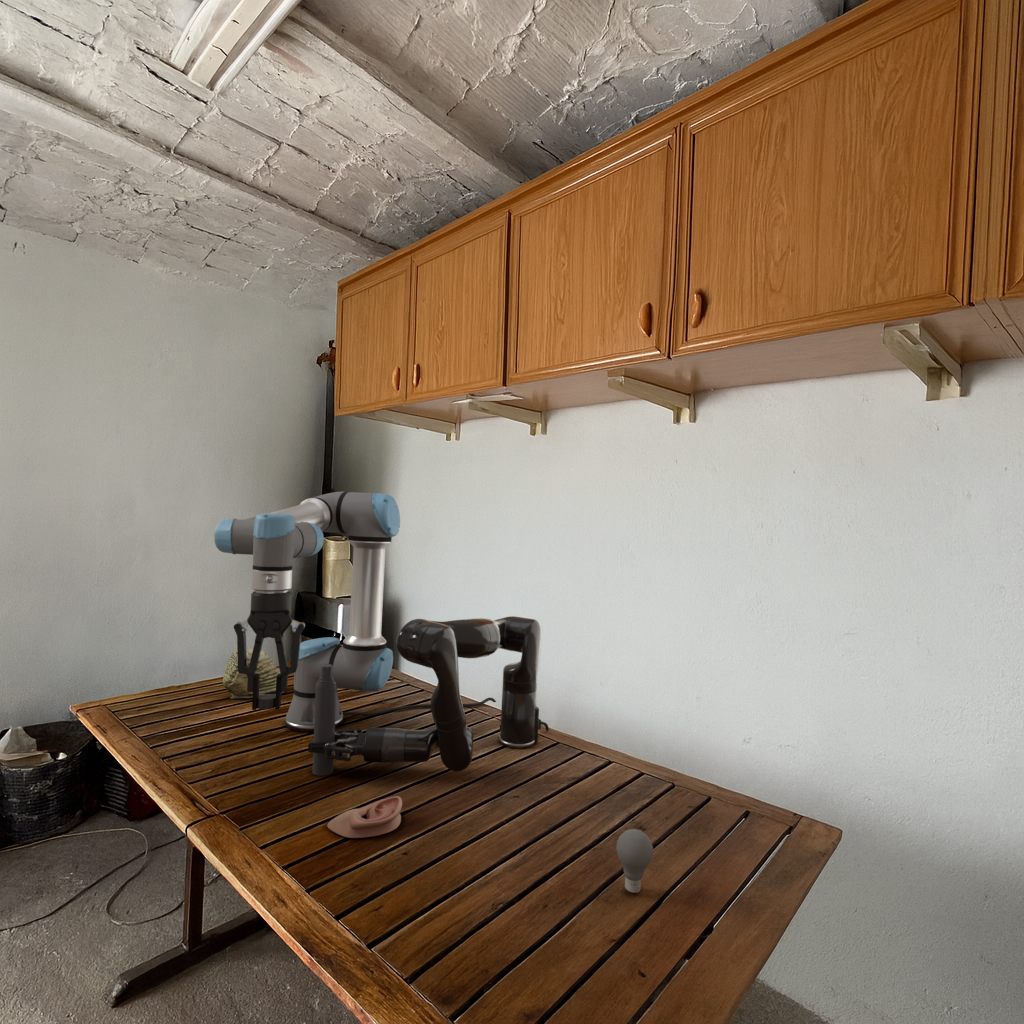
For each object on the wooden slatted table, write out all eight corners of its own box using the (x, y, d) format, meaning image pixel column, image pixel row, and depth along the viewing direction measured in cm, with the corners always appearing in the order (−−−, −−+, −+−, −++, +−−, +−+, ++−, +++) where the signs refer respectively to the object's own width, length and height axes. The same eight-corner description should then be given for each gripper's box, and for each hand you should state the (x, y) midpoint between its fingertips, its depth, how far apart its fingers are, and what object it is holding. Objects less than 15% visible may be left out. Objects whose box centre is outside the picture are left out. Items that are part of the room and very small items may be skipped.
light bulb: (610, 879, 108) (613, 822, 108) (644, 879, 109) (647, 822, 109) (619, 902, 102) (622, 840, 102) (655, 901, 103) (658, 840, 103)
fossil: (218, 695, 195) (220, 647, 195) (278, 685, 208) (279, 640, 207) (228, 703, 189) (230, 653, 188) (289, 692, 201) (290, 645, 201)
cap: (265, 702, 129) (266, 693, 129) (280, 705, 128) (280, 695, 128) (252, 707, 125) (253, 697, 125) (267, 710, 124) (268, 700, 124)
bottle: (336, 768, 148) (340, 663, 148) (329, 776, 143) (333, 668, 143) (316, 766, 148) (320, 662, 148) (309, 775, 144) (313, 667, 143)
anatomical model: (320, 812, 119) (347, 786, 130) (319, 833, 119) (347, 805, 130) (386, 822, 116) (408, 795, 127) (385, 844, 116) (408, 814, 128)
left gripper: (222, 592, 121) (217, 715, 121) (313, 594, 125) (308, 712, 125) (231, 587, 128) (226, 702, 128) (316, 588, 132) (311, 700, 132)
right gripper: (391, 718, 153) (320, 716, 153) (381, 740, 139) (303, 738, 138) (390, 748, 154) (319, 746, 153) (380, 774, 139) (302, 772, 139)
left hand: (266, 707), depth 127 cm, fingers closed on cap, 4 cm apart
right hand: (312, 742), depth 146 cm, fingers closed on bottle, 4 cm apart
